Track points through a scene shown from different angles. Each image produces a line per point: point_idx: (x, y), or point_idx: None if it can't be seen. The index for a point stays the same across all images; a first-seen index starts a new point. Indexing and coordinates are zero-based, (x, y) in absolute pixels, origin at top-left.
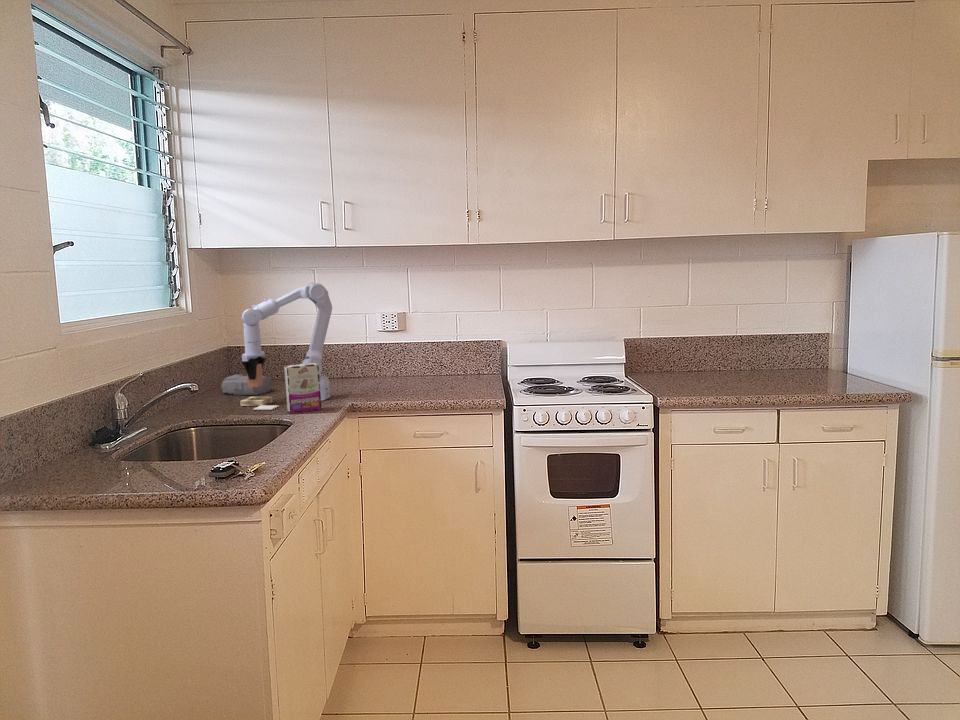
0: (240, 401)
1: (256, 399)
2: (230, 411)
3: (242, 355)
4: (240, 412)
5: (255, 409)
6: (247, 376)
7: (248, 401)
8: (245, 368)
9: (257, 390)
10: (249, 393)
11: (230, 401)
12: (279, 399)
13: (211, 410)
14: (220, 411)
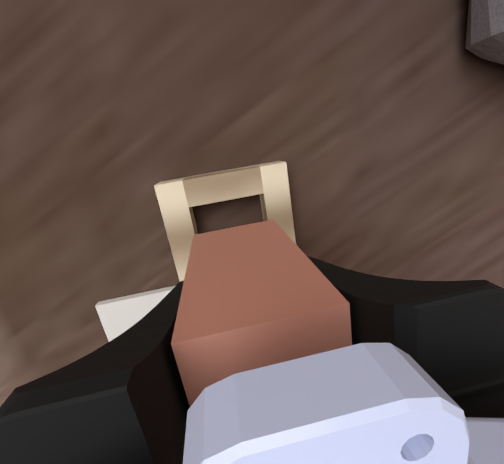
0: (155, 186)
1: (264, 210)
2: (38, 207)
3: (191, 411)
4: (38, 273)
5: (99, 315)
6: (188, 267)
7: (167, 232)
8: (113, 343)
9: (498, 55)
10: (470, 14)
11: (290, 5)
12: (363, 251)
13: (14, 70)
14: (14, 150)
